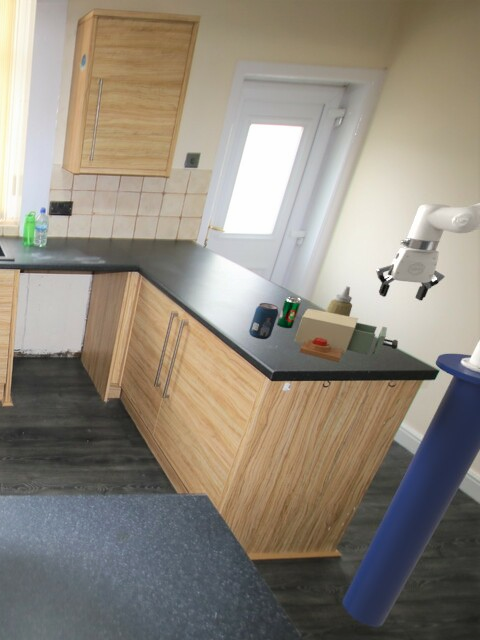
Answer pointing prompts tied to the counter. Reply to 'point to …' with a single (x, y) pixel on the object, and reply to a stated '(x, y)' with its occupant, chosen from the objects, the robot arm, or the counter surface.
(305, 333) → the cream appliance housing
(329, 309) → the squeeze bottle
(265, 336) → the soda can
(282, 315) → the soda can
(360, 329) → the grey piece
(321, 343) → the button
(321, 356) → the control block
